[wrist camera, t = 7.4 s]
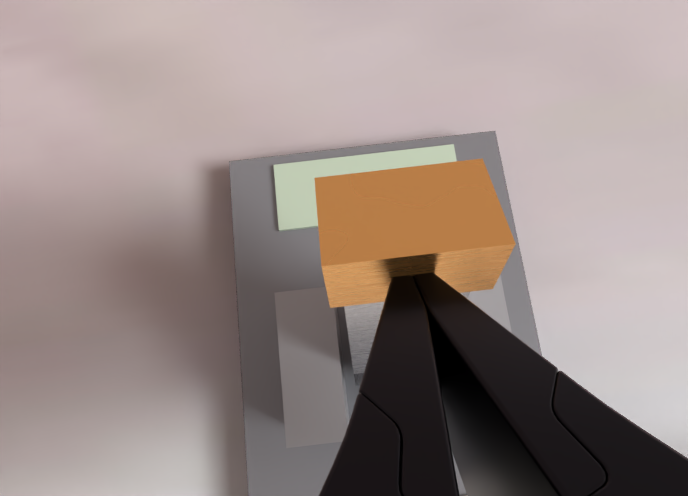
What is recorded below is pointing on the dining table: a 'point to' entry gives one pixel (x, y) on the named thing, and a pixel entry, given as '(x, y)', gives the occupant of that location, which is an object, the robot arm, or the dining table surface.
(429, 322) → the robot arm
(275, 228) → the switch panel
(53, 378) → the dining table surface
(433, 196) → the lever
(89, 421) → the dining table surface
